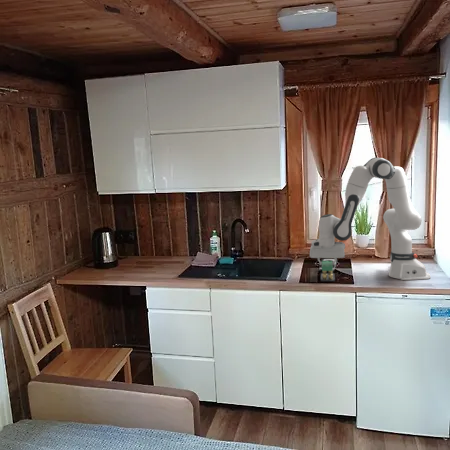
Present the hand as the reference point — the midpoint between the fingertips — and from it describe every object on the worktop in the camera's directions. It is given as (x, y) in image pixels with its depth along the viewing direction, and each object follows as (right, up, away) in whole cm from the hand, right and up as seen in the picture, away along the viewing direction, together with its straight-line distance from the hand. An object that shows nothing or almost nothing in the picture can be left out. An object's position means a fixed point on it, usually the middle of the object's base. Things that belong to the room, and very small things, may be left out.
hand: (327, 265), depth 272 cm
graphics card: (+5, -4, +25) cm, 26 cm away
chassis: (+1, -8, +1) cm, 8 cm away
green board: (0, -2, 0) cm, 2 cm away
